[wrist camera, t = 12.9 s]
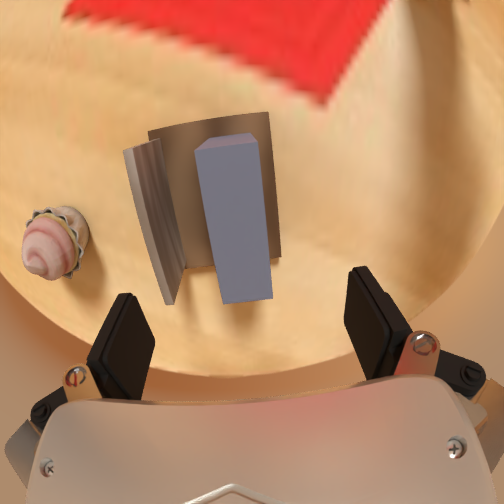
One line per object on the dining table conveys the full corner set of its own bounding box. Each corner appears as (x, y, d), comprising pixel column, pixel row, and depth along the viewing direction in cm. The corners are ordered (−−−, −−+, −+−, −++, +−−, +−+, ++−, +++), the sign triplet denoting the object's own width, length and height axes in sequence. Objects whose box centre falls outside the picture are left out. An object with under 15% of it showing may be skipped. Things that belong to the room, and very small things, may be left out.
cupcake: (112, 223, 30) (73, 265, 21) (84, 272, 33) (50, 318, 24) (59, 179, 27) (8, 207, 18) (37, 232, 30) (-5, 269, 21)
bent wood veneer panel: (266, 112, 26) (281, 110, 17) (279, 250, 33) (293, 300, 25) (151, 130, 26) (115, 139, 17) (180, 263, 33) (165, 313, 25)
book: (250, 132, 25) (257, 142, 16) (262, 242, 31) (273, 298, 22) (209, 138, 25) (194, 150, 16) (226, 247, 31) (223, 304, 22)
